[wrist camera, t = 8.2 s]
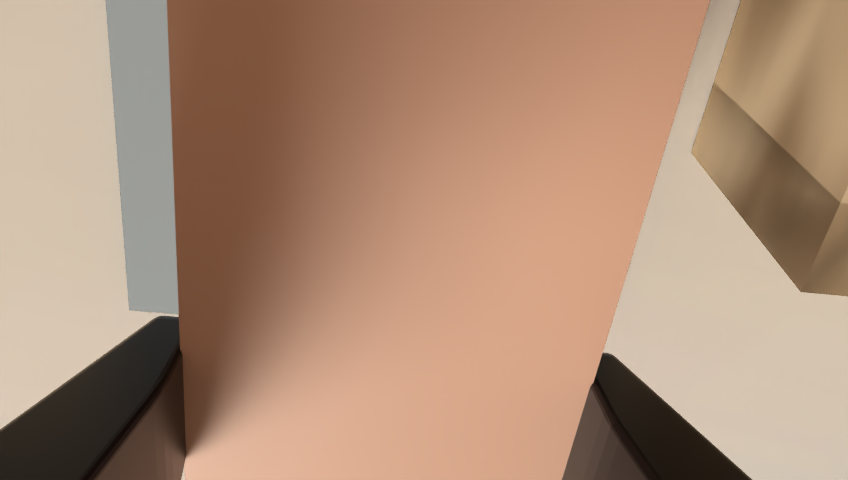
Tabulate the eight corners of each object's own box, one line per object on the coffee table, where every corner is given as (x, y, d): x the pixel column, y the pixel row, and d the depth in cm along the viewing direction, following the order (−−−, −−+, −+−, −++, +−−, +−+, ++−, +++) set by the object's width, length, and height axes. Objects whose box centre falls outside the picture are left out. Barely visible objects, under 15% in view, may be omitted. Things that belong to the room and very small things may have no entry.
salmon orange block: (487, 437, 13) (515, 638, 10) (240, 419, 12) (190, 623, 9) (627, -182, 8) (758, -159, 5) (248, -237, 8) (157, -247, 5)
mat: (579, 331, 18) (584, 348, 18) (137, 294, 17) (129, 310, 17) (713, -143, 13) (726, -140, 13) (101, -231, 12) (87, -232, 12)
